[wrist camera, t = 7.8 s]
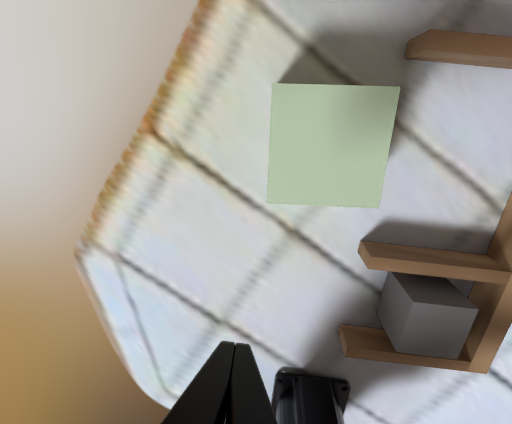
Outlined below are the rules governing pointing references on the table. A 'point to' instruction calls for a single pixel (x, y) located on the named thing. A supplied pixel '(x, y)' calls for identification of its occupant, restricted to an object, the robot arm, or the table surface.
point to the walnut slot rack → (442, 261)
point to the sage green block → (329, 143)
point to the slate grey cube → (425, 315)
